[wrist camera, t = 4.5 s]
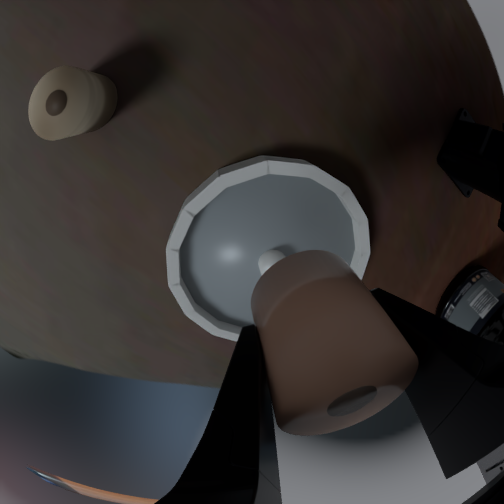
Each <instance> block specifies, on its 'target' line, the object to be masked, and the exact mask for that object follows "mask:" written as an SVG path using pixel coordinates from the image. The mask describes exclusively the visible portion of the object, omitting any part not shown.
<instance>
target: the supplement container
mask: <svg viewBox="0 0 504 504" xmlns="http://www.w3.org/2000/svg"><path fill="white" fill-rule="evenodd" d="M435 315H436V316H438V317H440V318H442V319H444V320H447V321H449V322H451V323H453V324H455V325H456V327H457V326H459V327H461V328H463V329H465V330H467V331H469V332H471V333H473V334H475V335H478V336H480V337H482V338H485V339H487V340H490V341H492V342H495V343H498V344H500V345H503V346H504V284H503V283H501V282H500V281H499V280H498V279H497V278H496V277H495V276H493V275H492V274H491V273H490V272H489V271H488V270H487V269H486V268H485V267H483V266H480V265H476V266H472V267H470V268H468V269H466V270H465V271H463V272H462V273H461V274H460V275H459V276H458V277H456V279H455V280H454V281H453V282H452V283H451V284H450V286H449V287H448V288H447V290H446V291H445V293H444V294H443V296H442V298H441V300H440V302H439V304H438V307H437V310H436V314H435Z"/></svg>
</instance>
